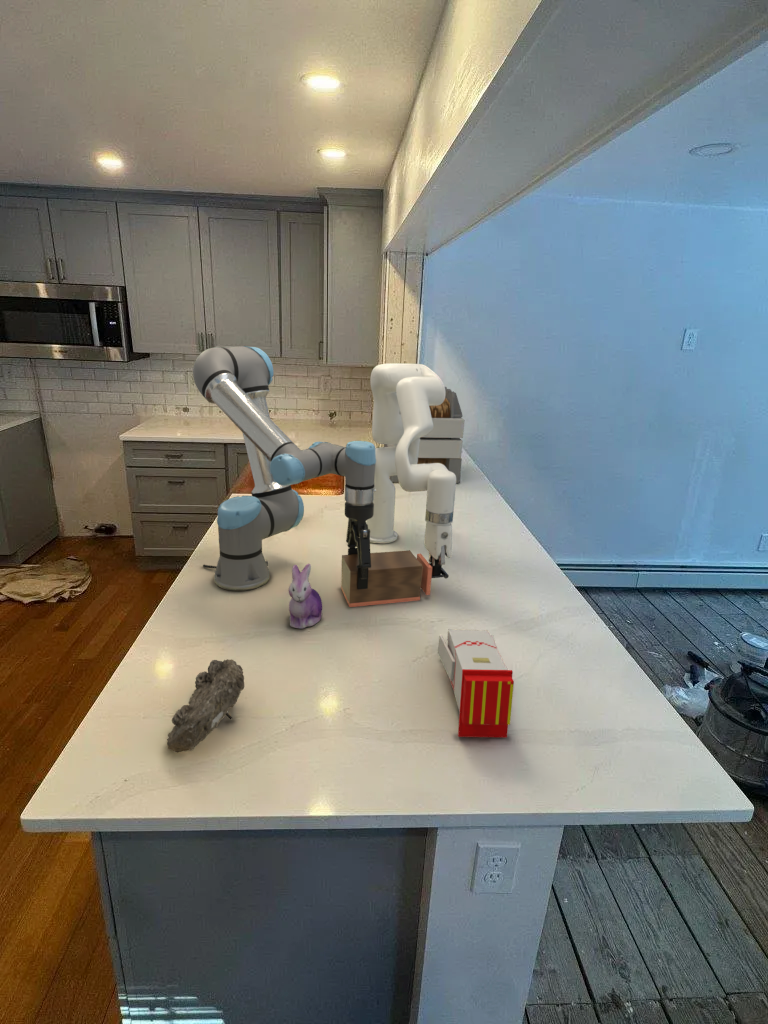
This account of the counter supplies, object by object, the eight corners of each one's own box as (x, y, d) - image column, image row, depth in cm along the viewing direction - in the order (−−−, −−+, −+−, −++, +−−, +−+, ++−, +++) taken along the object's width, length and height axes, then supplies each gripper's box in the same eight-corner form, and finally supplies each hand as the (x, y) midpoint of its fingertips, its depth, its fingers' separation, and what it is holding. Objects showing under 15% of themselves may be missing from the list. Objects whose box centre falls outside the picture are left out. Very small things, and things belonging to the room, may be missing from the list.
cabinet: (407, 582, 165) (410, 550, 161) (419, 600, 155) (422, 565, 152) (341, 588, 159) (341, 555, 156) (349, 607, 150) (350, 571, 146)
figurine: (294, 634, 136) (293, 577, 131) (280, 614, 145) (279, 560, 139) (330, 625, 140) (331, 571, 135) (315, 606, 149) (315, 554, 144)
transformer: (382, 463, 289) (386, 382, 275) (445, 464, 293) (451, 384, 279) (390, 482, 257) (394, 392, 243) (460, 483, 261) (468, 394, 247)
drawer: (437, 578, 166) (439, 551, 163) (449, 593, 158) (451, 565, 155) (357, 585, 160) (357, 558, 157) (365, 601, 151) (366, 572, 148)
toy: (488, 613, 130) (523, 677, 101) (484, 667, 133) (517, 744, 104) (435, 612, 130) (455, 676, 101) (432, 666, 133) (451, 743, 103)
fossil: (192, 660, 117) (244, 628, 112) (224, 691, 120) (276, 661, 115) (142, 746, 98) (202, 712, 93) (182, 779, 101) (242, 748, 96)
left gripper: (385, 516, 137) (382, 597, 144) (362, 487, 157) (360, 560, 165) (355, 518, 135) (353, 600, 142) (336, 489, 155) (335, 562, 163)
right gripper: (462, 524, 148) (456, 587, 154) (442, 506, 162) (437, 564, 168) (435, 526, 146) (430, 590, 152) (417, 507, 160) (413, 566, 166)
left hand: (357, 578), depth 153 cm, fingers closed on cabinet, 11 cm apart
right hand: (434, 576), depth 160 cm, fingers closed
